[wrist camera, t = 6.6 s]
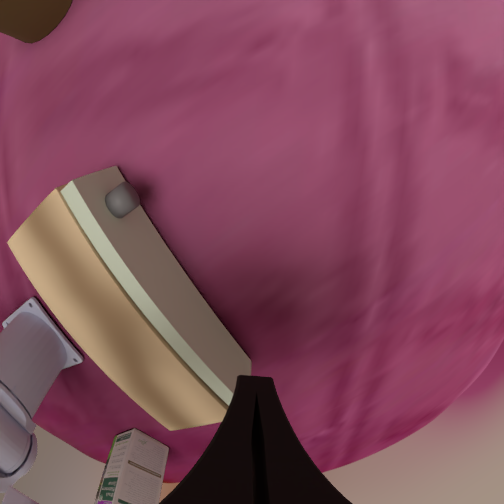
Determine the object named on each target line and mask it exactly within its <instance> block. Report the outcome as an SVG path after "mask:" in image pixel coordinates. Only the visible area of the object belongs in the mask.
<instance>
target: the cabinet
mask: <svg viewBox="0 0 504 504" xmlns="http://www.w3.org/2000/svg"><path fill="white" fill-rule="evenodd" d="M66 185H67V184H65V185H62V186H60V187H57V188H55V189H54V190H53V191H52V192H51V193H50V194H49V195H48V197H47V198H46V199H45V200H44V201H43V202H42V203H41V204H40V205H39V206H38V207H37V208H36V209H35V210H34V211H33V213H32V214H31V215H30V216H29V217H28V218H27V219H26V220H25V222H24V223H23V224H22V225H21V226H20V227H19V229H18V230H17V231H16V232H15V233H14V235H13V236H12V237H11V238H10V240H9V241H8V242H7V243H8V245H9V247H10V248H11V250H12V252H13V254H14V255H15V257H16V259H17V260H18V262H19V264H20V265H21V267H22V269H23V270H24V272H25V273H26V275H27V276H28V278H29V280H30V281H31V283H32V284H33V286H34V287H35V289H36V290H37V291H38V293H39V294H40V296H41V297H42V299H43V300H44V301H45V303H46V304H47V305H48V307H49V308H50V310H51V311H52V312H53V314H54V315H55V316H56V317H57V319H58V320H59V321H60V323H61V324H62V325H63V326H64V328H65V329H66V330H67V331H68V332H69V334H70V335H71V336H72V337H73V338H74V340H75V341H76V342H77V343H78V344H79V345H80V347H81V348H82V349H83V350H84V351H85V352H86V353H87V354H88V356H89V357H90V358H91V359H92V360H93V361H94V362H95V363H96V364H97V365H98V366H99V367H100V368H101V369H102V370H103V371H104V373H105V374H106V375H107V376H108V377H109V378H110V379H111V380H112V381H113V382H114V383H116V384H117V385H118V386H119V387H120V388H121V389H122V390H123V391H124V392H125V393H126V394H127V395H128V396H129V397H130V398H131V399H133V400H134V401H135V402H136V403H137V404H138V405H139V406H140V407H142V408H143V409H144V410H145V411H146V412H147V413H149V414H150V415H151V416H152V417H153V418H155V419H156V420H157V421H158V422H160V423H161V424H162V425H163V426H165V427H166V428H167V429H168V430H170V431H172V430H179V429H185V428H191V427H197V426H202V425H207V424H212V423H217V422H222V421H223V419H224V416H225V414H226V412H227V410H228V407H229V405H227V404H226V403H225V402H224V401H223V400H222V399H221V398H220V397H219V396H218V395H217V394H216V393H215V392H214V391H213V390H212V389H211V388H210V387H209V386H208V385H207V384H206V383H205V382H204V381H203V380H202V379H201V378H200V377H199V376H198V375H197V374H196V373H195V372H194V371H193V370H192V369H191V367H190V366H189V365H188V364H187V363H186V362H185V361H184V360H183V359H182V358H181V357H180V356H179V354H178V353H177V352H176V351H175V350H174V349H173V348H172V347H171V346H170V344H169V343H168V342H167V341H166V340H165V339H164V338H163V336H162V335H161V334H160V333H159V332H158V331H157V329H156V328H155V327H154V326H153V325H152V323H151V322H150V321H149V320H148V319H147V317H146V316H145V315H144V314H143V312H142V311H141V310H140V309H139V307H138V306H137V305H136V304H135V302H134V301H133V300H132V298H131V297H130V296H129V295H128V293H127V292H126V291H125V289H124V288H123V287H122V285H121V284H120V283H119V281H118V280H117V279H116V277H115V276H114V274H113V273H112V272H111V270H110V269H109V267H108V266H107V265H106V263H105V262H104V260H103V259H102V257H101V256H100V255H99V253H98V252H97V250H96V249H95V247H94V246H93V244H92V243H91V241H90V240H89V238H88V236H87V235H86V233H85V232H84V230H83V229H82V227H81V225H80V224H79V222H78V221H77V219H76V217H75V216H74V214H73V212H72V211H71V209H70V207H69V206H68V204H67V202H66V201H65V199H64V197H63V195H62V194H61V192H60V191H61V190H62V189H63V188H64V187H65V186H66Z"/></svg>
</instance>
